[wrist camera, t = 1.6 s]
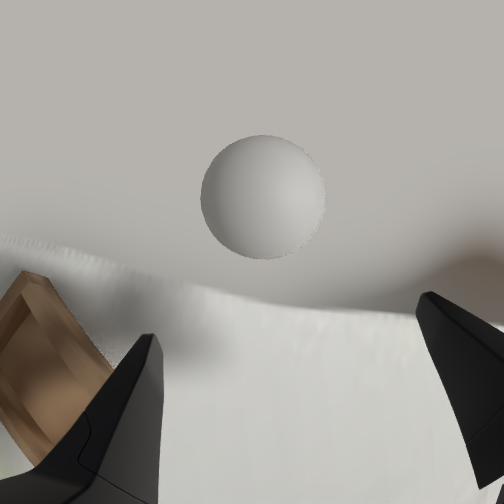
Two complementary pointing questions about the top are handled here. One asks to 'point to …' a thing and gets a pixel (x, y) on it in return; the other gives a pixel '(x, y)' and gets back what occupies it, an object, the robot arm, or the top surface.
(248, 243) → the lightbulb
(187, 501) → the top surface
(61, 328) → the u rest
